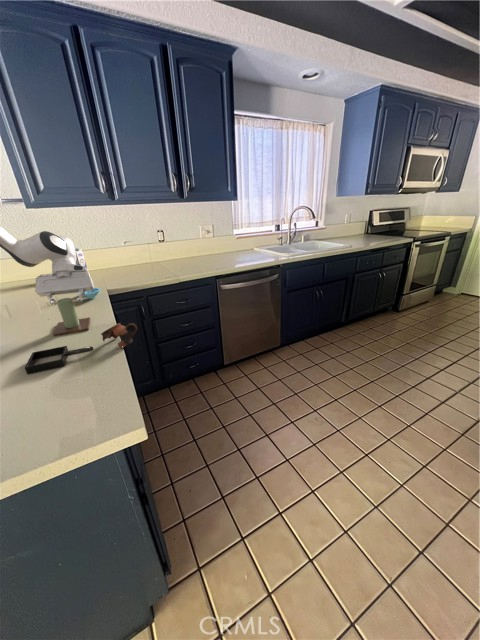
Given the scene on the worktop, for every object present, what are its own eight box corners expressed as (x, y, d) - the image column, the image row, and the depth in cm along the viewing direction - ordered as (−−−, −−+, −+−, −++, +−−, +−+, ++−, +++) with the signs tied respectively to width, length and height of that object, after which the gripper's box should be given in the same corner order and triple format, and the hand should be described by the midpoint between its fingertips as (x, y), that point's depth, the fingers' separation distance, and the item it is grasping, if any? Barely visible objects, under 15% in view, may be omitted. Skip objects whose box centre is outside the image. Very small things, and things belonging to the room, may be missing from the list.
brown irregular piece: (113, 354, 90) (99, 333, 88) (111, 354, 98) (97, 335, 96) (144, 334, 95) (131, 315, 94) (139, 336, 103) (127, 318, 102)
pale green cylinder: (64, 329, 105) (55, 303, 101) (66, 324, 110) (57, 299, 105) (79, 326, 107) (71, 301, 103) (80, 321, 112) (72, 297, 107)
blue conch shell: (102, 299, 140) (98, 283, 136) (80, 303, 135) (75, 286, 132) (101, 290, 154) (97, 275, 150) (81, 293, 150) (76, 278, 146)
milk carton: (80, 276, 187) (71, 247, 179) (89, 275, 187) (81, 247, 179) (73, 278, 181) (65, 249, 173) (83, 278, 181) (75, 248, 172)
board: (53, 336, 102) (52, 334, 101) (58, 324, 112) (58, 322, 111) (88, 330, 106) (87, 328, 106) (90, 319, 116) (89, 317, 116)
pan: (27, 374, 79) (24, 367, 78) (35, 358, 87) (32, 352, 86) (94, 359, 86) (92, 353, 85) (95, 346, 94) (93, 340, 93)
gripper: (32, 271, 104) (32, 302, 100) (89, 266, 110) (91, 295, 106) (39, 279, 110) (39, 309, 105) (93, 274, 116) (96, 302, 111)
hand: (66, 302), depth 105 cm, fingers open, 8 cm apart
